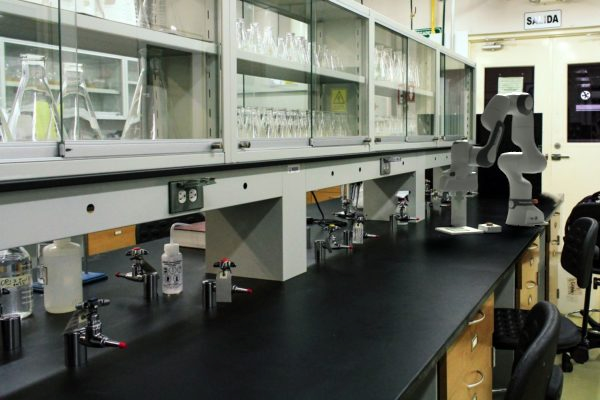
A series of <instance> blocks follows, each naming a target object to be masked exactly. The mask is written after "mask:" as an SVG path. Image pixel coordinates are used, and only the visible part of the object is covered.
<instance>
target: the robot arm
mask: <svg viewBox="0 0 600 400" xmlns="http://www.w3.org/2000/svg"><path fill="white" fill-rule="evenodd" d="M534 105H535V100H534V97H533V96H532V95H531V94H530V93H527V92H512V93H511V92H510V93H497V94H495V95H494V96H493V97H491V99H490V100H489V102H488V103H487V105H486V106H485V108H484V110H483V112H482V114H481V116H480V121H481V124H482V126H483V127H484V128H485V129H486V130H487V131H489V132H490V134H489V137H488V140H487V143H486V144H485V145H484V146H475V145H472V144H471V143H470V142H469V141H468V139H458V140H454V141H453V142H452V144H451V149H450V160H451V164H450V168H449V169H445V170H444V171H441V173H440V176H441V177H440V179H439V190H440V192H445V193H446V192H447V193H448V192H449V194H450V195H451V197H452V200H457V197H455V191H462V200H465V197H466V195H467V194H468V192H476V191H477V190H478V188H479V182H478V174H477V173H476V172H469V169H470V168H469V166H472V167H481V168H486V169H487V168H490V167H492V166H493V165H494V163H495V162H496V160H497V166H498V168H499V169H500V171H502V172H503V173H504V174H505V175H506V178H507V179H508V183H509V199H508V214H507V216H506V217H507V218H506V222H505V224H507V225H511V226H518V225H519V226H520V227H523V226H524V227H536V226H535V225H540V226H547V225H549V222H548V221H545V215H544V212H542V211H541V210H540V209H539V208H538V207H536V206H535V204H538V202H539V201H538V199H533V198H532V194H533V193H532V191H533V190H532V189H533V185H532V184H531V182H530V181H529V180H527V179H526V178H525V177H523V174H537V173H543V172H544V171H545V170H546V168H547V166H548V159H547V157H546V156H545V155H544V154H543V153H542V152H541V151H540V150H539V148H538V147H537V145H536V142H535V134H534V133H535V131H534V130H535V128H534V127H535V125H534V124H535V121H534V113H533V109H534ZM507 115H512V119H511V120H512V121H511V141H512V143H513V144H514V145H516V146H518V147H519V148H520V149H521V152H520V151H519V152H516V151H513V152H512V151H511V152H504V153H501V154H500V156H499V157H498V159H497V154H498V150H499V146H500V144H501V141H502V138H503V135H504V131H505V124H504V121H505V118H506V116H507Z"/></svg>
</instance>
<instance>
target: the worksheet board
mask: <svg viewBox="0 0 600 400" xmlns="http://www.w3.org/2000/svg"><path fill="white" fill-rule="evenodd" d="M434 230H435V231H437V232H441V233H445V234H448V235H452V236H455V235H474V234H484V233H485V232H484V231H482V230H478V228H474V227H470V226H467V225H466V226H464V227H455V226H451V227H450V226H447V227H435V229H434Z"/></svg>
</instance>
